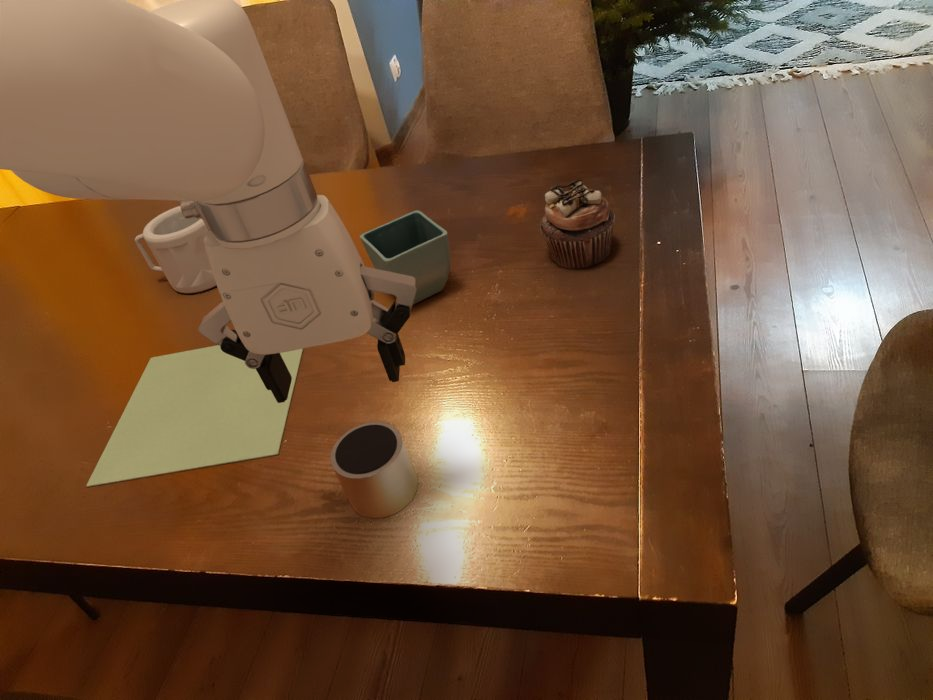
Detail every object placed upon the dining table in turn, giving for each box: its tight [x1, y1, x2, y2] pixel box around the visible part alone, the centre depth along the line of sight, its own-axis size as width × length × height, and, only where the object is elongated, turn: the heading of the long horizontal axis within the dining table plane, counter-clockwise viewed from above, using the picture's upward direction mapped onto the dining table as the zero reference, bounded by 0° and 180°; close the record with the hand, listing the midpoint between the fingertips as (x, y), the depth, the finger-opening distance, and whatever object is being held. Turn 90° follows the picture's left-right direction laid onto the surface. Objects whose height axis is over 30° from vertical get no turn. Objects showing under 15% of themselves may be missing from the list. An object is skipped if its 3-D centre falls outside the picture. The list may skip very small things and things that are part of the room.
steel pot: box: [330, 421, 419, 519], centre depth 64 cm, size 7×7×6 cm
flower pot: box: [359, 209, 451, 305], centre depth 88 cm, size 9×9×9 cm
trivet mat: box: [85, 344, 304, 488], centre depth 82 cm, size 22×22×1 cm
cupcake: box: [539, 179, 616, 270], centre depth 87 cm, size 10×10×10 cm
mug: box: [134, 205, 217, 294], centre depth 104 cm, size 14×11×10 cm
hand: (340, 381), depth 57 cm, fingers open, 9 cm apart
